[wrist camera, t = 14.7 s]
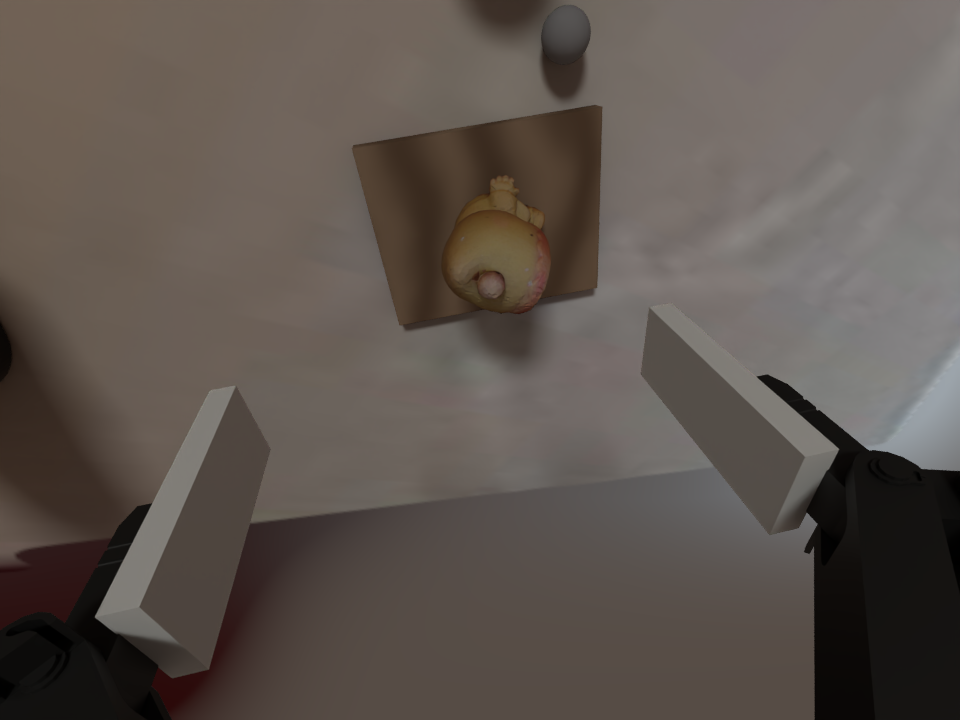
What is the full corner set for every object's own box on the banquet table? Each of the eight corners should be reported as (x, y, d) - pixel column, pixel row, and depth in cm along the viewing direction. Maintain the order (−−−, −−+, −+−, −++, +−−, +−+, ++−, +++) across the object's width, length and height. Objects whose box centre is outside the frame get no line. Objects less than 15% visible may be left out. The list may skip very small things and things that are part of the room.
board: (399, 317, 45) (399, 325, 44) (353, 145, 36) (352, 148, 35) (591, 281, 46) (597, 287, 45) (595, 105, 37) (602, 106, 36)
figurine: (515, 291, 44) (515, 370, 31) (442, 265, 43) (411, 334, 30) (558, 190, 39) (579, 234, 26) (476, 158, 38) (457, 186, 25)
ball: (537, 67, 35) (549, 68, 32) (534, 10, 33) (548, 6, 30) (580, 60, 35) (597, 61, 32) (580, 3, 33) (598, -1, 30)
